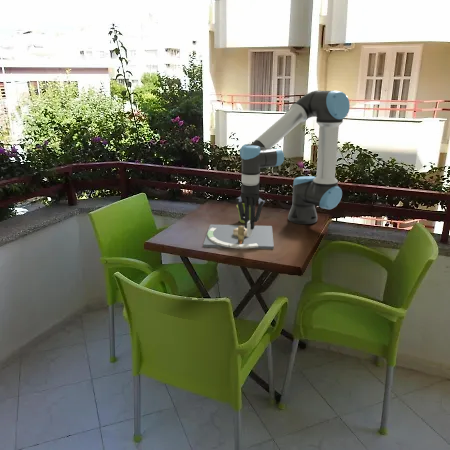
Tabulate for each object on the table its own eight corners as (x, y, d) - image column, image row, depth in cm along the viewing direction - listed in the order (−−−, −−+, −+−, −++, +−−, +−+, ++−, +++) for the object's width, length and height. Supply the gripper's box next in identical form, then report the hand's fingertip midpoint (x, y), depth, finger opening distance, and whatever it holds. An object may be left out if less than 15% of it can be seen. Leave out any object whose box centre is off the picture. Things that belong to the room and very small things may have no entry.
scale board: (271, 228, 193) (272, 224, 192) (273, 251, 166) (274, 247, 165) (210, 226, 195) (210, 222, 195) (202, 249, 168) (202, 245, 168)
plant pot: (253, 225, 197) (253, 209, 194) (235, 224, 199) (235, 208, 196) (255, 219, 206) (255, 203, 203) (238, 218, 208) (238, 202, 205)
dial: (233, 230, 186) (233, 217, 183) (250, 231, 185) (250, 217, 182) (231, 244, 170) (231, 229, 167) (249, 245, 169) (249, 230, 167)
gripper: (268, 182, 163) (266, 235, 171) (239, 180, 168) (239, 230, 176) (262, 186, 156) (260, 240, 164) (232, 183, 162) (232, 236, 170)
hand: (249, 235), depth 170 cm, fingers closed
